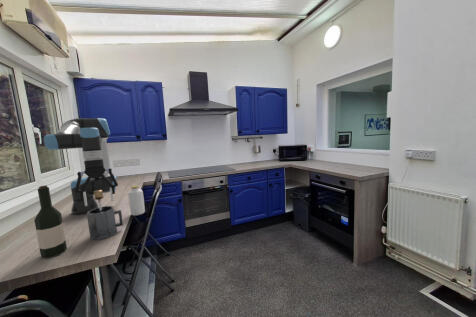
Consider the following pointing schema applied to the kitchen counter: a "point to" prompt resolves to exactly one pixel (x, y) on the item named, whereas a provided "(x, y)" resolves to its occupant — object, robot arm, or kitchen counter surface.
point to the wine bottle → (49, 227)
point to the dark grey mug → (103, 222)
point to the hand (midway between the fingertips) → (99, 202)
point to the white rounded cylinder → (136, 201)
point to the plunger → (98, 198)
